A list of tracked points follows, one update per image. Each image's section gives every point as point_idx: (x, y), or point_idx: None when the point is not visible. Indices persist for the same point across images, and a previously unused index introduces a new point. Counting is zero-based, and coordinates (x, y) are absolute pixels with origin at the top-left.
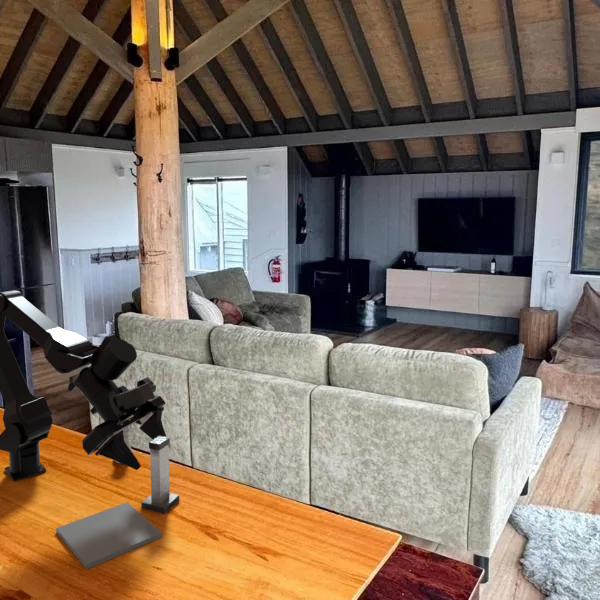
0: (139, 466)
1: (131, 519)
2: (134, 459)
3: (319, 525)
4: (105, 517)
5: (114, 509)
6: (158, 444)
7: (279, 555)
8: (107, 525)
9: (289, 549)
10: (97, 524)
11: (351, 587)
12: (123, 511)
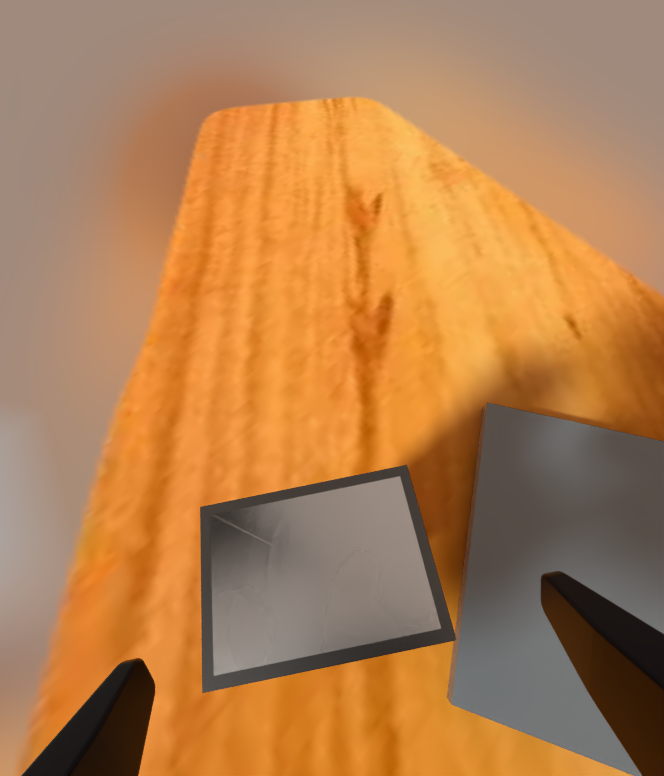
0: (560, 572)
1: (520, 555)
2: (633, 629)
3: (223, 188)
4: None
5: (534, 706)
6: (409, 479)
7: (353, 188)
8: None
9: (326, 186)
10: None
11: (356, 101)
12: (511, 644)
